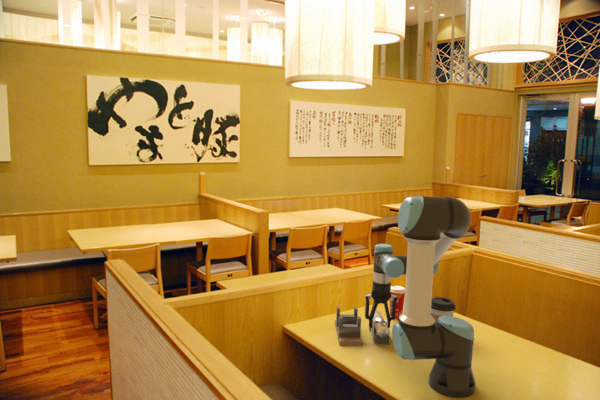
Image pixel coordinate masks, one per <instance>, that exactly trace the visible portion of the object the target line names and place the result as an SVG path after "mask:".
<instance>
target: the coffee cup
mask: <svg viewBox="0 0 600 400" xmlns="http://www.w3.org/2000/svg"><path fill="white" fill-rule="evenodd" d="M456 309H457V307H456V304H455V302H454V301H453V300H452V299H450V298H447V297H441V296H435V297H432V302H431V316H432V317H433V318H434V319H435V323H437V322H438V319H439V317H441V316H452V317H454V312H455V311H456Z"/></svg>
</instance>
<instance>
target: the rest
mask: <svg viewBox="0 0 600 400" xmlns="http://www.w3.org/2000/svg"><path fill="white" fill-rule="evenodd" d="M368 330H369V333H371V328H370V327H369V326H368ZM390 339H391V337H390V335H389V336H388V337H387V338H384V339H382V338H380V337H379V336H378V335H377V333H376V330H375V328H374V336H373V343H374V344H375V345H391V344H390V343H391V342H390Z"/></svg>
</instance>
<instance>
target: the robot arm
mask: <svg viewBox="0 0 600 400" xmlns="http://www.w3.org/2000/svg"><path fill="white" fill-rule="evenodd" d="M469 209H470V208H469V207H468V206H467V205H466V204H465V202H463V201H462V200H461V199H458V198H456V197H453V196H425V195H424V196H423V195H422V196H421V195H418V196H408V197H406V198H405V199H404V200H403V201H402V203H401V204H400V207H399V210H398V215H397V227H398V228H397V229H398V230H399V232H400V233H403V237H402V238H403V239H404V240H405V241H406V243H407V252H406V253H407V254H406V255H394V254H393V253H394V247H393V246H392V245H391V244H388V243H377V244H375V246H374V251H373V267H372V268H373V269H372V270H373V271H372V272H373V273H372V280H373V281H372V285H371V287H372V290H371V292H370V293H369V294H365V295H364V298H365V304H364V305H365V307H364V310H365V311H364V317H365V319H366V320H368V328H369V327H370V328H371V332H370V335H371V337H374V334H375V332H374V319H373V317H374V314H375V311H377V307H378V306H379V305H380V304H383V306H384V310H385V311H384V312H385V316H386V318H385V319H384V321H385V323H386V325H387V327H388V328H389V329H390V328H391V335H392V337H391V338H392V341H393V346H394V349H395V352H396V354H397V355H398V357H399V358H400V359H402V360H410V361H415V360H416V361H418V360H434V359H435V360H434V364H433V366H432V367H431V370H430V372H429V375H428V384H429V387H431V389H433V390H434V391H436V392H437V393H440V394H442V395H445V396H447V397H453V398H467V397H470V396H472V395H473V394H475V392H476V380H475V376H474V373H473V369H472V363H473V351H474V341H475V329H474V326H473V325H472V324H471V323H470V322H469V321H467V320H465V319H462V318H459V317H455V316H453V317H452V316H441V317H439V319H438V322H437V323H435V319H434V318H433V317H432V316H431V302H432V298H433V284H434V275H436V273H438V270H439V265H440V264H439V260H440V259H441V258H442V257H443V256H444V255H445V254H446V252H447V251H448V250H449V249H450V248H451V246H452V245H453V244H454V243H456V241H457V240H459V239H461V238H463V237H465V235H466V234H467V233H468V232H469V230H470V228H471V224H472V215H471V211H470V210H469ZM403 275H404V276H405V287H404V288H405V296H404V305H403V313H402V314H401V315H400V316H399V319H398V322H395V323H393V324H392V327H391V321H392V320H393V321H394V320H396V319H395V310H396V301H397V299H398V298H397V297H396V295H391V286H392V283H391V282H392V278H393V279H397V278H399V277H401V276H403ZM371 298H372V299H373V302H372V307H371V309H370V300H371ZM390 298H391V300H392V307H391V316H390V308H389V305H388V303H389V302H388V301H390ZM370 310H371V311H370Z"/></svg>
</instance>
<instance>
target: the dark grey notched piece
mask: <svg viewBox="0 0 600 400" xmlns="http://www.w3.org/2000/svg"><path fill="white" fill-rule="evenodd" d="M358 310H359V309H358V307H357V306H354V308H353V314H345V313H344V314H342V313H341V306H336V312H335V313H336V318H335V320H334V326H335V329H336V335H337V340H338V344H339V346H362V344H363V340H362V337H361V333H362V332H361V331H362V330H361V329H362V325H361V324H362V317H361V316H359V315H358V313H359V312H358Z"/></svg>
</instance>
